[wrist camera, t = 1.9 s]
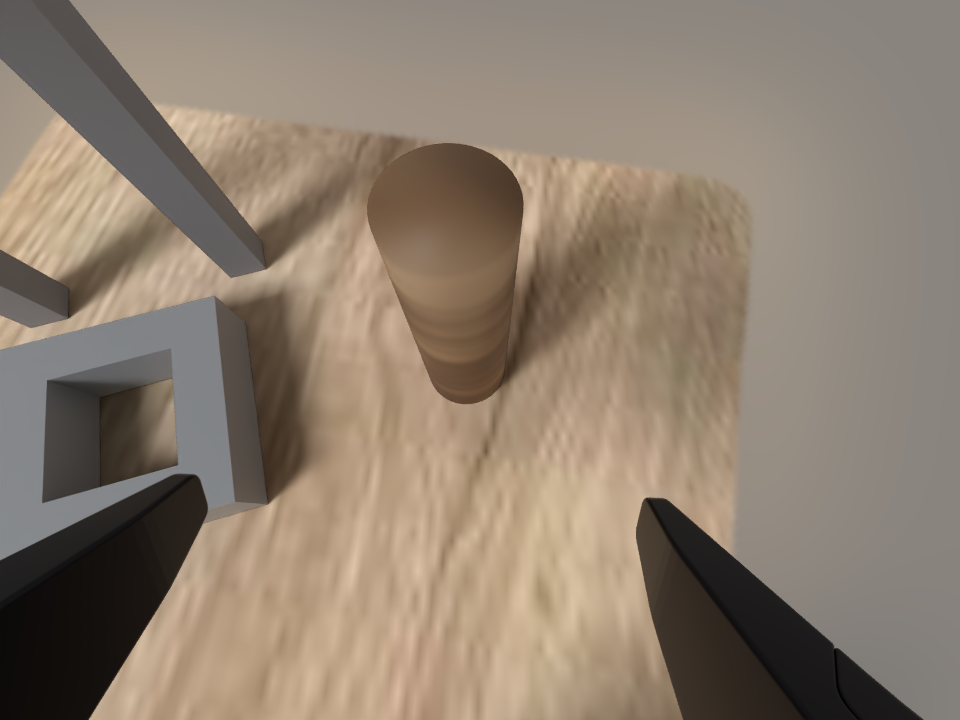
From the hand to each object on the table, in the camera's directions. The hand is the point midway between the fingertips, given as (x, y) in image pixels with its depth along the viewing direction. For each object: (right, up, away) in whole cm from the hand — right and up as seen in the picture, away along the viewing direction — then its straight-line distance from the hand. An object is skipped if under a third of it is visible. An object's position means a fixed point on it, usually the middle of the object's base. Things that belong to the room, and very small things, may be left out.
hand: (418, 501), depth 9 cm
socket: (-15, -1, +14) cm, 20 cm away
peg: (+1, +2, +15) cm, 15 cm away
